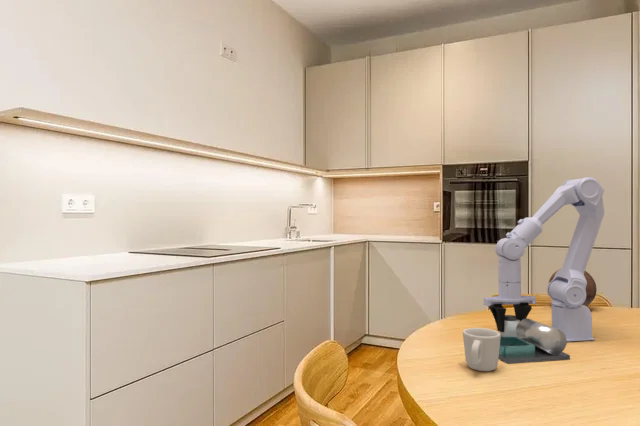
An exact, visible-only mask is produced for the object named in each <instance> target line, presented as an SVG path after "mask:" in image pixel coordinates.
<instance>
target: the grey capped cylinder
mask: <svg viewBox="0 0 640 426" xmlns="http://www.w3.org/2000/svg"><path fill="white" fill-rule="evenodd" d="M519 322H520V320H519V319H516V316H515V314H505V319H504V332H500V331H499V333H500V335H501V337H505V336H516V337H518V336H517V334H516V327H517V325H518V323H519Z"/></svg>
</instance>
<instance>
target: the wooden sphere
mask: <svg viewBox="0 0 640 426" xmlns="http://www.w3.org/2000/svg"><path fill="white" fill-rule="evenodd" d="M560 269H561V268H559V269H557V270H556V271H554V273H552V275H551V276H550V278H549V281H548V284H549V283H550V282H551V281H552V280H553V279H554V277H555V274H556V273H557V272H558V271H559V270H560ZM584 277H585V279H586V281H587V285H586V300H585V302H584V303H583V304H582V305H585V306H586V307H588V306H589V305H590V304H591V303H592V302H594V300H595V298H596V296H597V290H598V289H597V284H596V282H595V278H593V276H592V275H591V274H590V273H589V272H588V271H586V270H585V272H584Z"/></svg>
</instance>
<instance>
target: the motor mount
mask: <svg viewBox="0 0 640 426" xmlns="http://www.w3.org/2000/svg"><path fill="white" fill-rule="evenodd" d="M516 334H517V336H518V337H516V336H505V337H501V338H500V348H499V358H498V360H500V361H502V362H504V363H505V364H508V365H509V364H510V365H511V364H521V363H522V364H523V363H537V362H539V363H540V362H551V361H565V360H566V361H569V360H571V355H570V354H569V353H566V352H564V351H565V349H566V348H567V343H568V342H567V339H566V336H565V334H564V333H563V332H562V331H561V330H558V329H556V328H553V327H552V326H550V325H547V324H544V323H541V322H540V321H537V320H533V319H532V318H531V319H530V318H526V319H523V320H521V321H520V322H519V323H518V325H517V327H516Z"/></svg>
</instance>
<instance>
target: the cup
mask: <svg viewBox="0 0 640 426" xmlns="http://www.w3.org/2000/svg"><path fill="white" fill-rule="evenodd" d="M462 337H463V338H462V339H463V348H464V355H465V356H464V357H465V363H466V365H467V366H468V367H469V368H470V369H472V370H475V371H479V372H492V371H495V370H496V369H497V367H498V365H499V359H498V358H499V348H500V338H501V335H500V331H498V330H495V329H492V328H485V327H469V328H466V329H465V328H464V330H462Z"/></svg>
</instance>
